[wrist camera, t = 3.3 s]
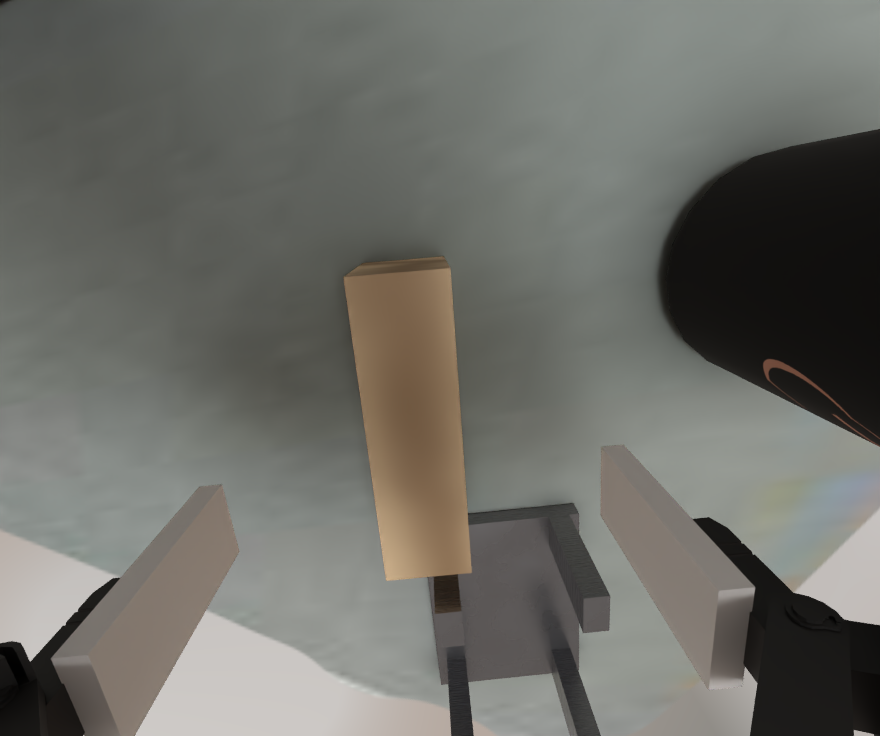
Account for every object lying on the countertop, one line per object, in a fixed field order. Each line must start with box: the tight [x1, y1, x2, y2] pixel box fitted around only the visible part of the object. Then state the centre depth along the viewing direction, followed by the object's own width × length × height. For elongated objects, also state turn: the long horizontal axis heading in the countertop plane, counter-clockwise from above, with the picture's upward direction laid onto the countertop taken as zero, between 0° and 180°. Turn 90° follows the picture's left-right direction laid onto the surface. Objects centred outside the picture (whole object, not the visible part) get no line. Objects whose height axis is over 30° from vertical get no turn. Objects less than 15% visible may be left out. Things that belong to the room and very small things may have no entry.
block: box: [343, 256, 472, 581], centre depth 22 cm, size 4×14×6 cm, turn 5°
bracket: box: [428, 504, 610, 736], centre depth 26 cm, size 9×12×7 cm
